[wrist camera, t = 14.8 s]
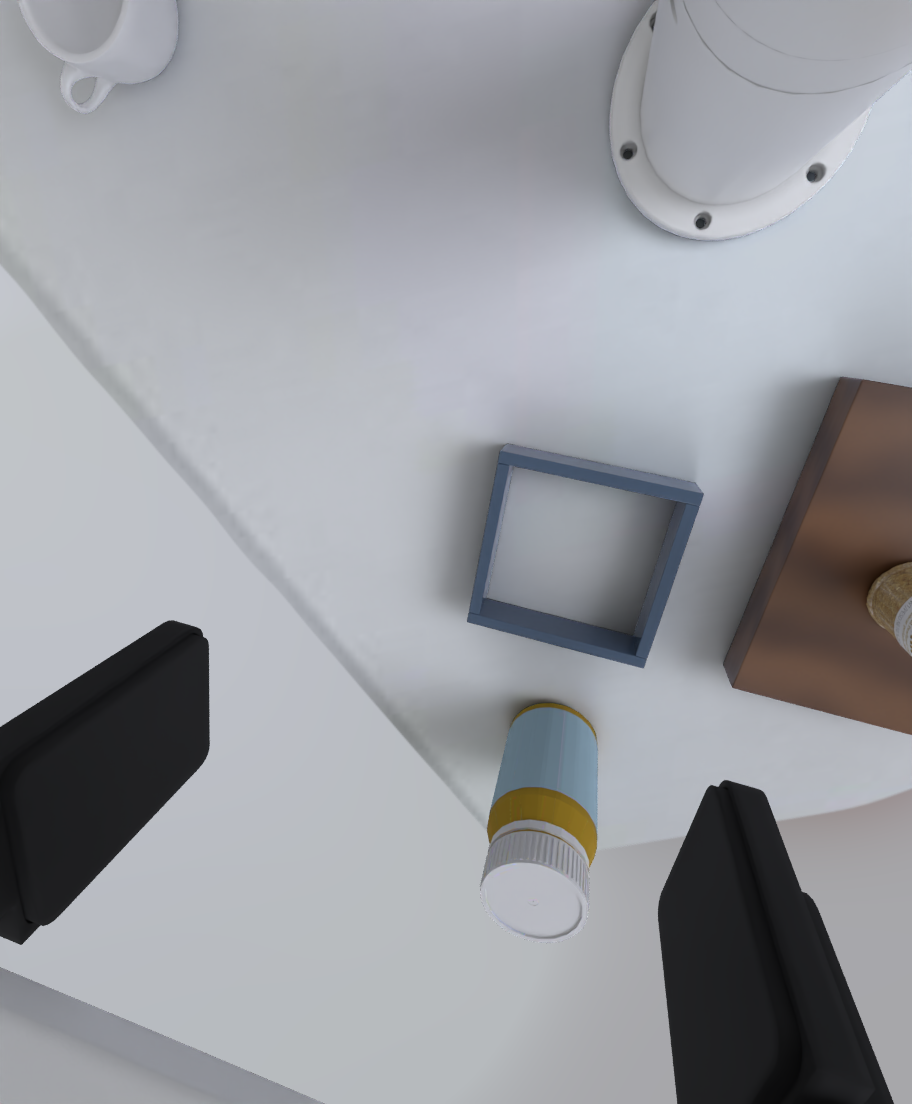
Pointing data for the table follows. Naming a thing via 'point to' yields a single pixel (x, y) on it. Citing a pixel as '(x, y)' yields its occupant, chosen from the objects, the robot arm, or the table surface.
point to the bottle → (543, 826)
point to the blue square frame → (566, 630)
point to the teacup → (104, 41)
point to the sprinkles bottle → (894, 603)
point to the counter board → (837, 569)
